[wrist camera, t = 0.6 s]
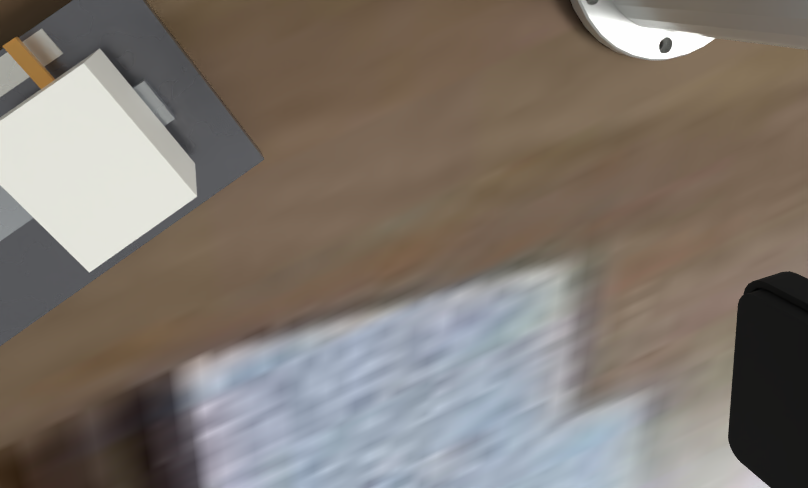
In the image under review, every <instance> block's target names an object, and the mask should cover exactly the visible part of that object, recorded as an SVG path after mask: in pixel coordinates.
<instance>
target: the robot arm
mask: <svg viewBox="0 0 808 488" xmlns="http://www.w3.org/2000/svg"><path fill="white" fill-rule="evenodd" d="M570 1H571V3H572V6H573V9H574V10H575V12H576V14H577V15H578V17H579V18H580V20H581V22H582V23H583V25H584V26H585V28H586V29H587V30H588V31H589V32H590V33H591V34H592V35H593V36H594V37H595V38H596V39H597V40H598V41H599V42H601V43H602V44H604V45H605V46H607V47H609V48H610V49H612V50H613V51H615V52H618V53H621V54H624V55H627V56H630V57H634V58H640V59H646V60H668V59H672V58H676V57H680V56H684V55H687V54H689V53H691V52H693V51H696V50H698V49H700V48H702V47H704V46H705V45H707V44H708V43H710V42H711V41H712V40H714V39H715V38H717V39H726V40H734V41H742V42H750V43H758V44H766V45H774V46H782V47H790V48H798V49H806V50H808V0H570ZM728 439H729V444H730V447H731V449H732V451H733V453H734V455H735V456H736V457H737V459H738V460H739V461H740V462H741V463H742V464H744V465H745V466H746V467H747V468H748V469H749V470H751V471H752V472H753V473H754V474H755V475H756V476H758V477H759V478H760V479H761V480H762V481H763V482H765V483H766V484H767V485H768V486H769V487H770V488H808V279H807V278H805V277H803V276H801V275H799V274H796V273H793V272H790V271H789V272H781V273H778V274H775V275H771V276H768V277H765V278H762V279H759V280H756V281H753V282H751V283H749V284H748V285H747V287H746V288H745V291H744V295H743V296H742V297H741V298H740V300H739V303H738V312H737V326H736V339H735V352H734V366H733V379H732V392H731V406H730V419H729V432H728Z"/></svg>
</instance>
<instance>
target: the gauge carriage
mask: <svg viewBox="0 0 808 488" xmlns="http://www.w3.org/2000/svg"><path fill="white" fill-rule="evenodd" d="M2 47H3V48H4V49H5V50H6V51H7V52H8V53H9V54H10V55H11V56H12V58H13V59H14V60H15V61H16V62H17V63H18V64H19V65H20V66H21V68H22V69H23V70H24V71H25V72H26V73H27V74H28V75H29V76H30V78H31V79H32V80H33V81H34V82H35V83H36V84H37V85H38V86H39V87H40V89H41V90H39V91H38V92H36V93H35V94H33V95H32V96H30V97H29V98H28V99H26V100H25V101H23V102H22V103H20V104H19V105H17V106H16V107H15V108H13V109H12V110H10V111H9V112H7V113H6V114H4V115H3V116H2V117H0V185H1V186H2V187H3V188H4V189H5V190H6V191H7V192H8V193H9V194H10V195H11V196H12V197H13V198H14V199H15V200H16V201H17V202H18V203H19V204H20V205H21V206H22V207H23V208H24V209H25V210H26V211H27V212H28V213H29V214H30V215H31V216H32V217H33V218H34V219H35V220H36V221H37V222H38V223H39V224H40V225H41V226H42V227H43V228H44V229H45V230H47V231H48V232H49V233H50V234H51V235H52V236H53V237H54V238H55V239H56V240H57V241H58V242H59V243H60V244H61V245H62V246H63V247H64V248H65V249H66V250H67V251H68V252H69V253H70V254H71V255H72V256H73V257H74V258H75V259H76V260H77V261H78V262H79V263H80V264H81V265H82V266H83V267H84V268H85V269H86V270H87V271H88V272H89V273H90V272H91V271H92V270H94V269H95V268H97V267H98V266H99V265H101V264H102V263H104V262H105V261H107V260H108V259H109V258H111V257H112V256H114V255H115V254H116V253H118V252H119V251H121V250H122V249H124V248H125V247H126V246H128V245H129V244H131V243H132V242H133V241H135V240H136V239H138V238H139V237H141V236H142V235H143V234H145V233H146V232H148V231H149V230H150V229H152V228H153V227H155V226H156V225H158V224H159V223H160V222H162V221H163V220H165V219H166V218H167V217H169V216H170V215H172V214H173V213H175V212H176V211H177V210H179V209H180V208H182V207H183V206H184V205H186V204H187V203H189V202H190V201H192V200H193V199H194V198H196V197H197V186H196V170H195V163H194V162H193V160H192V159H191V158H190V157H189V156H188V154H187V153H186V152H185V151H184V150H183V148H182V147H181V146H180V145H179V143H178V142H177V141H176V140H175V139H174V137H173V136H172V135H171V134H170V133H169V131H168V130H167V129H166V128H165V127H164V125H163V124H162V123H161V122H160V121H159V119H158V118H157V117H156V116H155V114H154V113H153V112H152V111H151V110H150V108H149V107H148V106H147V105H146V104H145V102H144V101H143V100H142V99H141V98H140V96H139V95H138V94H137V93H136V92H135V90H134V89H133V88H132V87H131V85H130V84H129V83H128V82H127V81H126V79H125V78H124V77H123V76H122V75H121V73H120V72H119V71H118V70H117V69H116V67H115V66H114V65H113V64H112V62H111V61H110V60H109V59H108V58H107V56H106V55H105V54H104V53H103V52H102V50H101V49H98V50H97V51H95V52H94V53H92V54H91V55H90V56H88V57H87V58H85V59H84V60H82V61H81V62H79V63H78V64H77V65H75V66H74V67H72V68H71V69H69V70H68V71H66V72H65V73H64V74H62V75H61V76H59V77H58V78H56V79H54V77H53V76H52V75H51V74H50V73H49V72H48V71H47V69H46V68H45V67H44V66H43V65H42V64H41V63H40V62H39V60H38V59H37V58H36V57H35V56H34V55H33V54H32V53H31V51H30V50H29V49H28V48H27V47H26V46H25V45H24V43H23V42H22V41H21V40H20V39H19V38H18V37H15V38H13V39H12V40H11V41H9V42H8V43H6V44H5V45H3V46H2Z"/></svg>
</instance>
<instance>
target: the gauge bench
mask: <svg viewBox="0 0 808 488" xmlns="http://www.w3.org/2000/svg"><path fill="white" fill-rule="evenodd" d="M19 39H20V40H21V41H22V42H23V43H24V45H25V46H26V47H27V48H28V49H29V50H30V51H31V53H32V54H33V55H34V56H35V57H36V58H37V59H38V60H39V62H40V63H41V64H42V65H43V66H44V67H45V68H46V69H47V71H48V72H49V73H50V74H51V75H52V76H53V77H54V79H56V78H58V77H59V76H61V75H62V74H64V73H65V72H66V71H68V70H69V69H71V68H72V67H74V66H75V65H77V64H78V63H79V62H81V61H82V60H84V59H85V58H87V57H88V56H90V55H91V54H92V53H94V52H95V51H97V50H98V49H101V50H102V52H103V53H104V54H105V55H106V56H107V58H108V59H109V60H110V61H111V62H112V64H113V65H114V66H115V67H116V69H117V70H118V71H119V72H120V73H121V75H122V76H123V77H124V78H125V79H126V81H127V82H128V83H129V84H130V85H131V87H132V88H133V89H134V90H135V92H136V93H137V94H138V95H139V96H140V98H141V99H142V100H143V101H144V102H145V104H146V105H147V106H148V107H149V108H150V110H151V111H152V112H153V113H154V114H155V116H156V117H157V118H158V119H159V121H160V122H161V123H162V124H163V125H164V127H165V128H166V129H167V130H168V131H169V133H170V134H171V135H172V136H173V137H174V139H175V140H176V141H177V142H178V143H179V145H180V146H181V147H182V148H183V150H184V151H185V152H186V153H187V154H188V156H189V157H190V158H191V159H192V160H193V162H194V163H195V170H196V186H197V197H196V198H194V199H193V200H192V201H190V202H189V203H187V204H186V205H184V206H183V207H182V208H180V209H179V210H177V211H176V212H175V213H173V214H172V215H170V216H169V217H167V218H166V219H165V220H163V221H162V222H160V223H159V224H158V225H156V226H155V227H153V228H152V229H150V230H149V231H148V232H146V233H145V234H143V235H142V236H141V237H139V238H138V239H136V240H135V241H133V242H132V243H131V244H129V245H128V246H126V247H125V248H124V249H122V250H121V251H119V252H118V253H116V254H115V255H114V256H112V257H111V258H109V259H108V260H107V261H105V262H104V263H102V264H101V265H99V266H98V267H97V268H95V269H94V270H92V271H91V272H90V273H89V272H88V271H87V270H86V269H85V268H84V267H83V266H82V265H81V264H80V263H79V262H78V261H77V260H76V259H75V258H74V257H73V256H72V255H71V254H70V253H69V252H68V251H67V250H66V249H65V248H64V247H63V246H62V245H61V244H60V243H59V242H58V241H57V240H56V239H55V238H54V237H53V236H52V235H51V234H50V233H49V232H48V231H47V230H45V229H44V228H43V227H42V226H41V225H40V224H39V223H38V222H37V221H36V220H35V219H34V218H33V217H32V216H31V215H30V214H29V213H28V212H27V211H26V210H25V209H24V208H23V207H22V206H21V205H20V204H19V203H18V202H17V201H16V200H15V199H14V198H13V197H12V196H11V195H10V194H9V193H8V192H7V191H6V190H5V189H4V188H3V187H2V186H1V185H0V346H1V345H2V344H4V343H5V342H6V341H8V340H9V339H11V338H12V337H13V336H15V335H16V334H18V333H19V332H21V331H22V330H23V329H25V328H26V327H28V326H29V325H30V324H32V323H33V322H35V321H36V320H38V319H39V318H40V317H42V316H43V315H45V314H46V313H47V312H49V311H50V310H52V309H53V308H55V307H56V306H57V305H59V304H60V303H62V302H63V301H64V300H66V299H67V298H69V297H70V296H72V295H73V294H74V293H76V292H77V291H79V290H80V289H81V288H83V287H84V286H86V285H87V284H89V283H90V282H91V281H93V280H94V279H96V278H97V277H98V276H100V275H101V274H103V273H104V272H106V271H107V270H108V269H110V268H111V267H113V266H114V265H115V264H117V263H118V262H120V261H121V260H122V259H124V258H125V257H127V256H128V255H130V254H131V253H132V252H134V251H135V250H137V249H138V248H139V247H141V246H142V245H144V244H145V243H147V242H148V241H149V240H151V239H152V238H154V237H155V236H156V235H158V234H159V233H161V232H162V231H164V230H165V229H166V228H168V227H169V226H171V225H172V224H173V223H175V222H176V221H178V220H179V219H181V218H182V217H183V216H185V215H186V214H188V213H189V212H190V211H192V210H193V209H195V208H196V207H198V206H199V205H200V204H202V203H203V202H205V201H206V200H207V199H209V198H210V197H212V196H213V195H214V194H216V193H217V192H219V191H220V190H222V189H223V188H224V187H226V186H227V185H229V184H230V183H231V182H233V181H234V180H236V179H237V178H239V177H240V176H241V175H243V174H244V173H246V172H247V171H248V170H250V169H251V168H253V167H254V166H256V165H257V164H258V163H260V162H261V161H263V160H264V157H263V155H262V153H261V151H260V150H259V149H258V147H257V146H256V145H255V143H254V142H253V141H252V139H251V138H250V137H249V135H248V134H247V133H246V131H245V130H244V129H243V127H242V126H241V125H240V124H239V122H238V121H237V120H236V118H235V117H234V116H233V114H232V113H231V112H230V110H229V109H228V108H227V106H226V105H225V104H224V103H223V101H222V100H221V99H220V97H219V96H218V95H217V93H216V92H215V91H214V89H213V88H212V87H211V85H210V84H209V83H208V82H207V80H206V79H205V78H204V76H203V75H202V74H201V72H200V71H199V70H198V68H197V67H196V66H195V64H194V63H193V62H192V61H191V59H190V58H189V57H188V55H187V54H186V53H185V51H184V50H183V49H182V47H181V46H180V45H179V43H178V42H177V41H176V39H175V38H174V37H173V36H172V34H171V33H170V32H169V30H168V29H167V28H166V26H165V25H164V24H163V22H162V21H161V20H160V18H159V17H158V16H157V15H156V13H155V12H154V11H153V9H152V8H151V7H150V5H149V4H148V3H147V1H146V0H73V1H71V2H70V3H68V4H67V5H65V6H64V7H62V8H61V9H60V10H58V11H57V12H55V13H54V14H52V15H51V16H49V17H48V18H46V19H45V20H44V21H42V22H41V23H39V24H38V25H36V26H35V27H33V28H32V29H31V30H29V31H28V32H26V33H25V34H23V35H22V36H20V37H19ZM39 90H41V89H40V87H39V86H38V85H37V84H36V83H35V82H34V81H33V80H32V79H31V78H30V76H29V75H28V74H27V73H26V72H25V71H24V70H23V69H22V68H21V66H20V65H19V64H18V63H17V62H16V61H15V60H14V59H13V58H12V56H11V55H10V54H9V53H8V52H7V51H6V50H5V49H4V48H3V49H2V50H0V117H2V116H3V115H4V114H6V113H7V112H9V111H10V110H12V109H13V108H15V107H16V106H17V105H19V104H20V103H22V102H23V101H25V100H26V99H28V98H29V97H30V96H32V95H33V94H35V93H36V92H38V91H39Z"/></svg>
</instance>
